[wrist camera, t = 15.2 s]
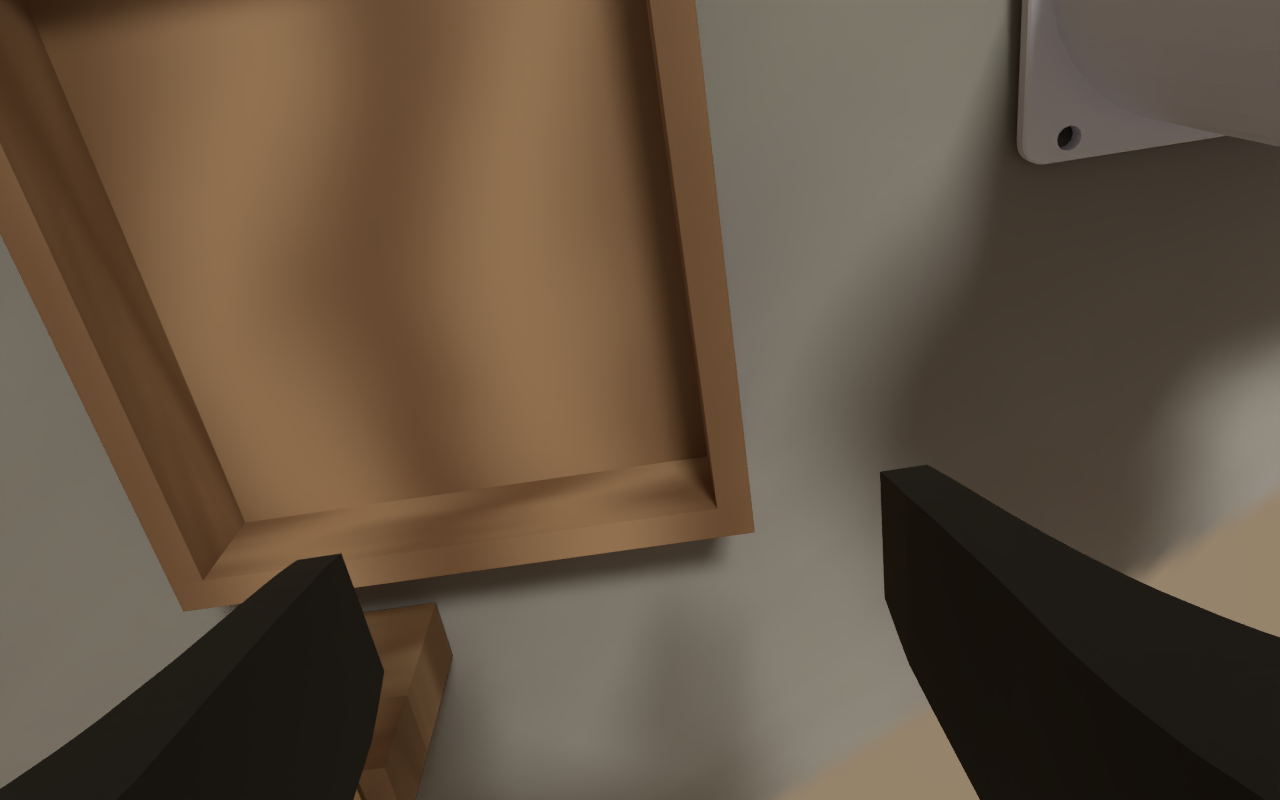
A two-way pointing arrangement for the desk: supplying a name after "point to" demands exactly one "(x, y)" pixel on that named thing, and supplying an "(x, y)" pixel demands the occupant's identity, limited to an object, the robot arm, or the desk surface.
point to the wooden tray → (381, 289)
